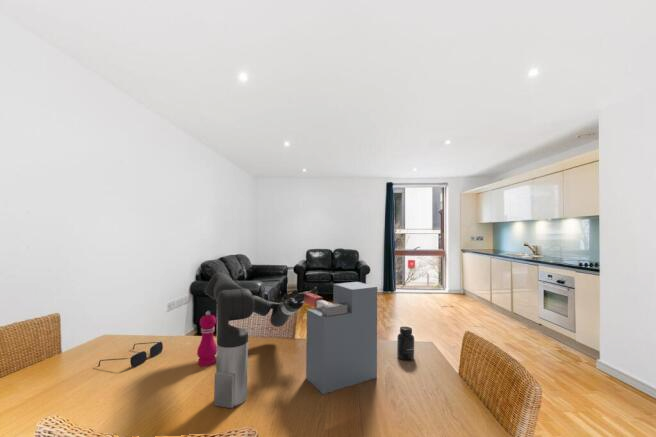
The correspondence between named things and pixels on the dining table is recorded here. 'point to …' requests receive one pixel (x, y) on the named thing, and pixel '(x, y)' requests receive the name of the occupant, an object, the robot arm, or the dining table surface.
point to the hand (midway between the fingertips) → (306, 290)
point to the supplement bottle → (405, 344)
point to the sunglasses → (142, 354)
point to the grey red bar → (325, 305)
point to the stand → (343, 340)
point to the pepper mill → (207, 341)
